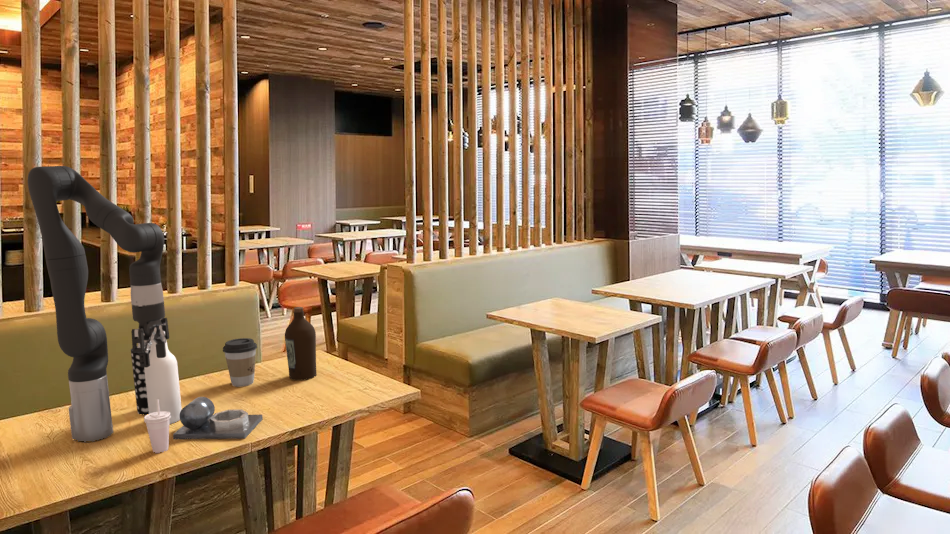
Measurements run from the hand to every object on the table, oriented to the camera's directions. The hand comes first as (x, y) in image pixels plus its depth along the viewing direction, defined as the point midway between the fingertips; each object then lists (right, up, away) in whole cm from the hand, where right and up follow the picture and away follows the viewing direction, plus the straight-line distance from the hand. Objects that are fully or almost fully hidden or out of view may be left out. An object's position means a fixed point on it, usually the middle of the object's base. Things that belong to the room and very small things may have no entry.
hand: (153, 362), depth 172 cm
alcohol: (-8, -21, +24) cm, 33 cm away
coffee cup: (+3, -16, +58) cm, 60 cm away
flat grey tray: (+11, -22, +17) cm, 29 cm away
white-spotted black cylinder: (-17, -20, +33) cm, 42 cm away
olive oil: (+22, -14, +64) cm, 69 cm away
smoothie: (0, -24, +3) cm, 24 cm away
